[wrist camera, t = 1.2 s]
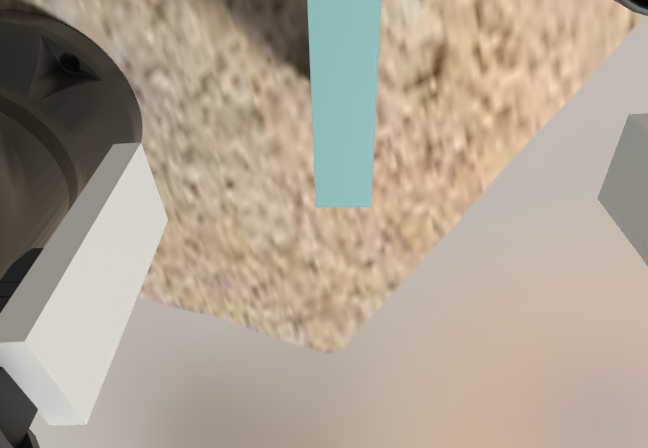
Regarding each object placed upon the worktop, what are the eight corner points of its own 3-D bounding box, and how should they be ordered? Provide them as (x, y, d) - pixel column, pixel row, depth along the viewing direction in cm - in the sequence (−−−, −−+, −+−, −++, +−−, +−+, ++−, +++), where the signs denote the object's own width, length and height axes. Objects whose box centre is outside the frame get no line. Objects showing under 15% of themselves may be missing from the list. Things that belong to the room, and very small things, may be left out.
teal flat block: (361, 91, 38) (370, 207, 26) (323, 92, 38) (315, 207, 26) (368, -172, 28) (390, -176, 16) (316, -171, 28) (300, -173, 16)
